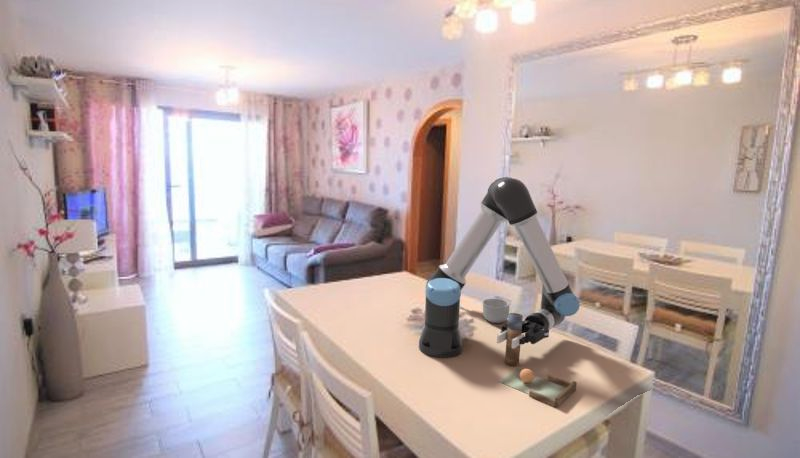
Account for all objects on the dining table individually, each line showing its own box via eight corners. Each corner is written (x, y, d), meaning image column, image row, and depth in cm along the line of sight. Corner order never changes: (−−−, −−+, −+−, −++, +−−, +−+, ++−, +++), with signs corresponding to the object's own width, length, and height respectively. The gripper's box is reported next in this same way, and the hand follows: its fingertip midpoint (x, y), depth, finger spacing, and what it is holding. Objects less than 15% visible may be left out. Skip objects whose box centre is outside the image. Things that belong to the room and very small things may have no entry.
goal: (497, 382, 122) (497, 374, 122) (518, 368, 132) (518, 360, 131) (557, 408, 110) (558, 399, 110) (575, 390, 119) (576, 382, 119)
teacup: (509, 326, 166) (510, 307, 165) (481, 324, 168) (482, 305, 167) (507, 314, 179) (508, 297, 178) (481, 312, 181) (482, 294, 180)
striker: (505, 365, 133) (509, 317, 130) (504, 359, 137) (507, 312, 135) (520, 366, 132) (523, 318, 130) (517, 360, 137) (521, 313, 134)
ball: (520, 385, 121) (521, 372, 120) (518, 378, 125) (519, 365, 124) (534, 386, 121) (535, 373, 120) (532, 379, 125) (533, 366, 124)
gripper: (562, 340, 141) (530, 362, 124) (515, 325, 153) (480, 344, 136) (564, 319, 140) (532, 338, 123) (517, 306, 152) (482, 322, 135)
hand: (505, 341), depth 130 cm, fingers closed on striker, 4 cm apart
